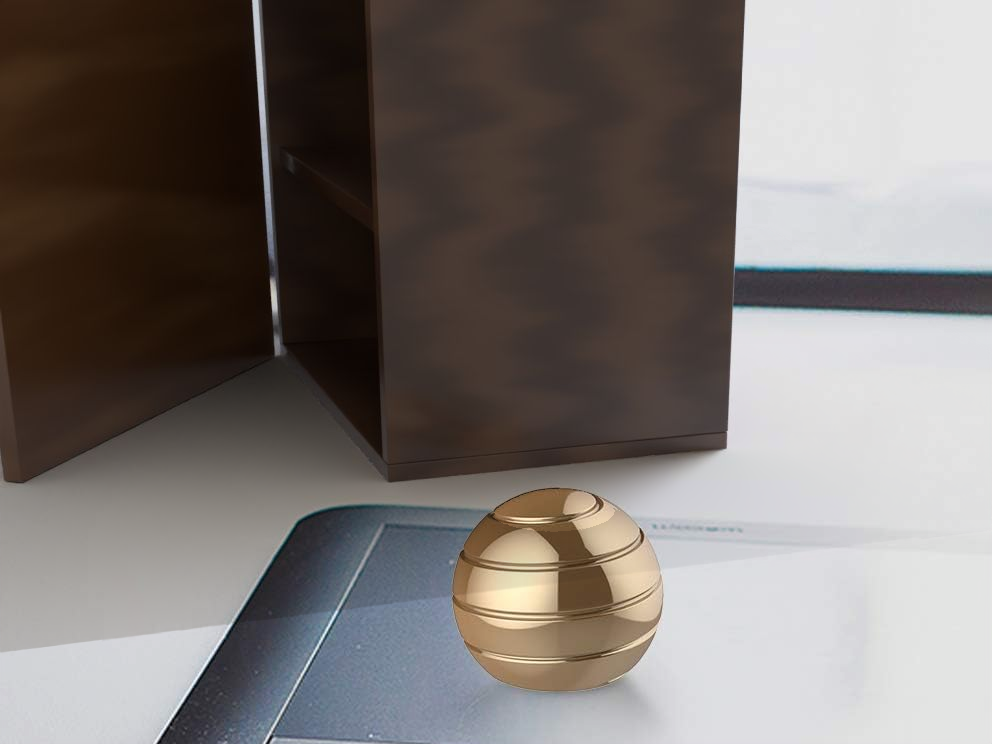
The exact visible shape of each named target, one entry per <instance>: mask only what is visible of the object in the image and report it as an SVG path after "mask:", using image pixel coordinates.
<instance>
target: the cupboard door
mask: <svg viewBox="0 0 992 744" xmlns="http://www.w3.org/2000/svg"><path fill="white" fill-rule="evenodd" d="M253 3H254V2H253V0H0V460H1V469H2V476H3V481H5V482H14V483H24V482H27V481H28V480H30V479H32V478H34V477H36V476H38V475H40V474H42V473H44V472H46V471H49V470H50V469H52V468H54V467H56V466H59V465H60V464H62V463H64V462H66V461H68V460H70V459H72V458H74V457H77V456H78V455H80V454H82V453H84V452H87V451H89V450H90V449H92V448H94V447H96V446H99V445H101V444H102V443H104V442H106V441H109V440H110V439H112V438H114V437H116V436H118V435H120V434H122V433H124V432H127V431H128V430H130V429H132V428H134V427H136V426H138V425H140V424H142V423H144V422H147V421H148V420H149V419H152V418H154V417H156V416H158V415H160V414H162V413H164V412H166V411H168V410H170V409H172V408H174V407H176V406H177V405H180V404H182V403H184V402H185V401H188V400H190V399H192V398H194V397H197V396H198V395H200V394H202V393H204V392H206V391H208V390H210V389H212V388H214V387H216V386H218V385H220V384H222V383H224V382H226V381H227V380H230V379H232V378H234V377H236V376H238V375H240V374H242V373H243V372H246V371H247V370H248V371H249V370H250V369H252V368H254V367H256V366H258V365H260V364H262V363H264V362H266V361H268V360H270V359H272V358H274V357H275V356H276V350H275V334H274V318H273V303H272V287H271V271H270V269H271V268H270V254H269V241H268V239H269V238H268V225H267V223H268V222H267V208H266V194H265V193H266V192H265V179H264V178H265V176H264V162H263V147H262V145H263V144H262V129H261V115H260V98H259V84H258V67H257V52H256V38H255V37H256V35H255V20H254V6H253Z"/></svg>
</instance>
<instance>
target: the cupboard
mask: <svg viewBox="0 0 992 744" xmlns="http://www.w3.org/2000/svg"><path fill="white" fill-rule="evenodd" d="M746 2H747V0H258V3H257V4H258V19H259V20H258V21H259V33H260V50H261V51H260V52H261V66H262V83H263V97H264V98H263V100H264V114H265V130H266V146H267V147H266V148H267V159H268V161H267V162H268V178H269V194H270V195H269V196H270V209H271V210H270V211H271V212H270V213H271V225H272V243H273V259H274V273H275V275H274V277H275V289H276V290H275V291H276V306H277V321H278V334H279V335H278V338H279V353H280V357H281V358H282V359H283V361H285V363H286V364H287V366H289V367H290V368H291V370H292V371H293V372H294V373H295V375H296V376H297V377H298V378H299V379H300V381H302V383H303V384H304V385H305V386H306V388H307V389H308V390H309V391H310V392H311V393H312V394H313V396H314V397H315V398H316V399H317V401H318V402H319V403H320V404H321V405H322V406H323V408H324V409H326V411H327V412H328V413H329V414H330V416H331V417H332V418H333V419H334V420H335V422H336V423H337V424H338V425H339V426H340V428H341V429H342V430H343V431H344V432H345V433H346V435H347V436H348V437H349V439H350V440H351V441H352V442H353V443H354V445H356V446H357V448H358V449H359V450H360V451H361V453H362V454H363V455H364V456H365V457H366V458H367V460H369V462H370V463H371V464H372V465H373V467H374V468H375V469H376V470H377V471H378V472H379V474H380V475H381V476H382V477H383V478H384V479H385V481H386V482H387V483H400V482H401V483H402V482H409V481H410V482H411V481H419V480H430V479H440V478H449V477H459V476H460V477H461V476H469V475H479V474H489V473H499V472H507V471H508V472H509V471H518V470H528V469H537V468H539V469H540V468H548V467H549V468H550V467H558V466H569V465H579V464H588V463H597V462H607V461H617V460H626V459H627V460H628V459H637V458H647V457H656V456H657V457H659V456H665V455H676V454H686V453H697V452H704V451H705V452H707V451H715V450H716V451H717V450H725V449H727V448H728V431H729V413H730V411H729V409H730V389H731V388H730V387H731V384H730V383H731V366H732V365H731V362H732V341H733V340H732V338H733V315H734V294H735V293H734V292H735V267H736V266H735V265H736V245H737V244H736V243H737V217H738V196H739V173H740V171H739V168H740V149H741V148H740V146H741V125H742V124H741V122H742V101H743V100H742V97H743V74H744V73H743V72H744V54H745V53H744V52H745V51H744V50H745V49H744V47H745V28H746V27H745V26H746V22H745V21H746Z"/></svg>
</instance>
